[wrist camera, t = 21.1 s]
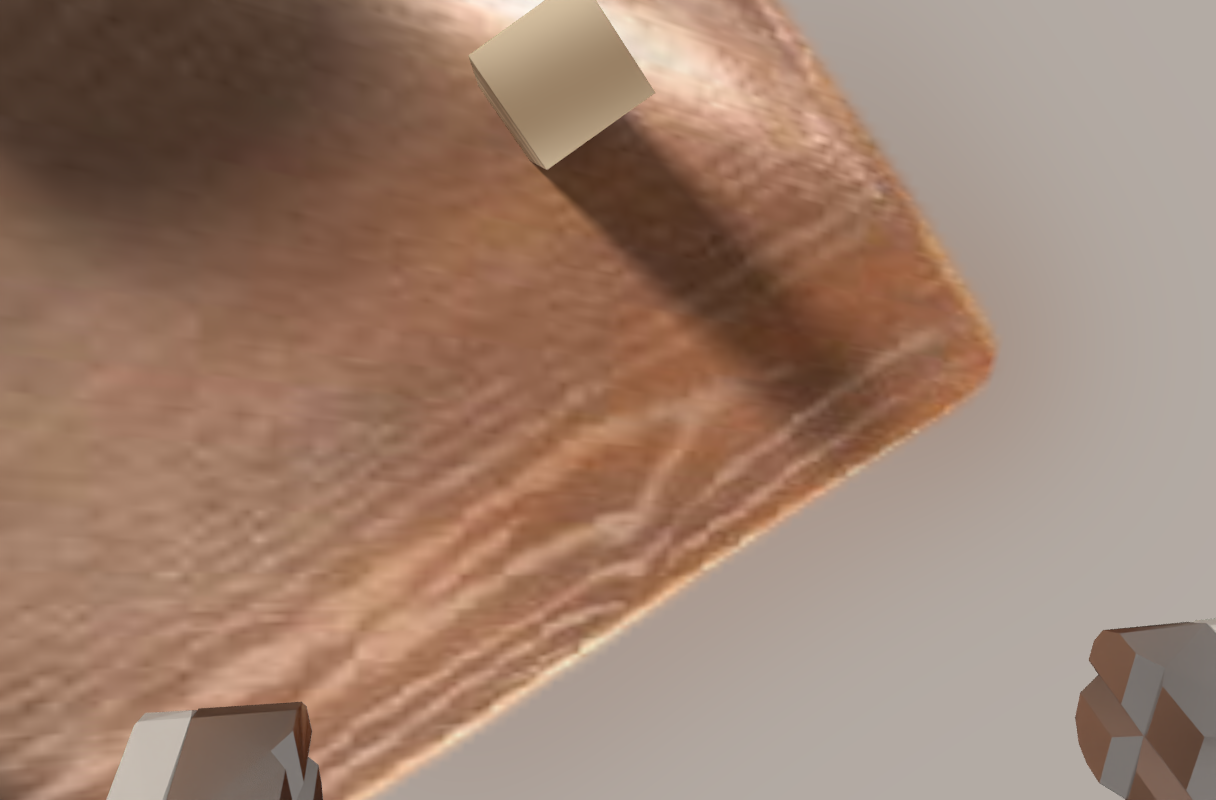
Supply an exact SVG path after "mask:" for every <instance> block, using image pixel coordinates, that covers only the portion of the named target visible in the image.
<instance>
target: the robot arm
mask: <svg viewBox="0 0 1216 800" xmlns="http://www.w3.org/2000/svg"><path fill="white" fill-rule="evenodd" d="M1089 661H1090V662H1091V664H1092V666H1093V667H1094V668H1095V670H1096V672H1097V673H1098V676H1097V677H1096V678H1095V679H1094V680H1093V681H1092V682H1091V683H1090V684H1089V685H1088V686H1087V687H1086V688H1085V689H1084V690H1083V691H1082V692H1081V693H1080V697H1079V702H1078V707H1077V712H1076V717H1075V719H1076V726H1077V733H1078V741H1079V745H1080V747H1081V750H1082V753H1083V755H1084V758H1085V760H1086V763H1087V765H1088V766H1089V768H1090V769H1091V771H1092V772H1093V774H1094V776H1095V777H1096V779H1097V780H1098V782H1099V783H1100V784H1102V785H1103V786H1105V787H1106V788H1108V789H1110V790H1111V791H1113V792H1115V793H1116V794H1118V795H1120V796H1122V797H1123V798H1124V799H1125V800H1216V618H1214V619H1205V620H1196V621H1194V622H1181V623H1171V624H1161V625H1150V626H1140V627H1130V628H1120V629H1110V630H1103V631H1102V632H1101V633H1100V634H1099V636H1098V637H1097V638H1096V639H1095V641H1094V643H1093V646H1092V650H1091V654H1090V657H1089ZM311 735H312V729H311V724H310V720H309V715H308V711H307V706H306V705H305V704H303V703H302V702H292V703H277V704H261V705H246V706H231V707H216V708H201V709H198V710H189V711H172V712H156V713H145V714H144V715H143V716H142V717H141V718H140V719H139V721H138V722H137V723H136V724H135V725H134V727H133V730H132V733H131V735H130V738H129V741H128V743H127V746H126V749H125V751H124V754H123V757H122V759H121V762H120V765H119V767H118V770H117V773H116V775H115V778H114V781H113V783H112V786H111V789H110V792H109V794H108V797H107V800H323V794H322V783H321V777H320V771H319V766H318V764H316V763H315V762H314V761H313V760H311V759H310V758H309V757H308V754H309V747H310V741H311Z"/></svg>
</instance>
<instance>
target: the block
mask: <svg viewBox="0 0 1216 800" xmlns="http://www.w3.org/2000/svg"><path fill="white" fill-rule="evenodd" d="M468 56H469V59H470V62H471V65H472V68H473V71H474V74H475V77H476V80H477V83H478V86H479V88H480V89H481V91H482V92H483V93H484V95H485V96H486V98H487V99H488V101H489V102H490V104H491V105H492V106H493V108H494V109H495V111H496V112H497V114H498V115H499V117H500V118H501V120H502V121H503V122H504V124H505V125H506V127H507V128H508V130H509V131H510V133H511V134H512V135H513V137H514V138H515V140H516V141H517V143H518V144H519V146H520V147H521V149H522V150H523V151H524V153H525V154H526V156H527V157H528V159H529V160H530V161H531V162H533V163H535V164H537V165H539V166H541V167H542V168H544V169H546V170H548V169H549V168H550V167H552V166H553V165H555V164H556V163H557V162H559V161H560V160H562V159H563V158H564V157H566V156H567V155H569V154H570V153H571V152H573V151H574V150H576V149H577V148H579V147H580V146H581V145H583V144H584V143H586V142H587V141H588V140H590V139H591V138H593V137H594V136H595V135H597V134H598V133H600V132H601V131H602V130H604V129H605V128H607V127H608V126H609V125H611V124H612V123H614V122H615V121H616V120H618V119H619V118H621V117H622V116H624V115H625V114H626V113H628V112H629V111H631V110H632V109H633V108H635V107H636V106H638V105H639V104H640V103H642V102H643V101H645V100H646V99H647V98H649V97H650V96H652V95H653V94H654V93H655V91H654V90H653V88H652V87H651V85H650V84H649V82H648V81H647V79H646V77H645V76H644V74H643V73H642V71H641V70H640V68H639V67H638V65H637V63H636V62H635V60H634V59H633V57H632V56H631V54H630V53H629V51H628V49H627V48H626V46H625V45H624V43H623V42H622V40H621V39H620V37H619V35H618V34H617V32H616V31H615V29H614V28H613V26H612V25H611V23H610V21H609V20H608V18H607V17H606V15H605V14H604V12H603V11H602V9H601V8H600V6H599V4H598V3H597V1H596V0H545V1H543V2H542V3H541V4H539V5H538V6H536V7H535V8H534V9H532V10H531V11H530V12H528V13H527V14H525V15H524V16H523V17H521V18H520V19H518V20H517V21H516V22H514V23H513V24H511V25H510V26H509V27H507V28H506V29H505V30H503V31H502V32H500V33H499V34H498V35H496V36H495V37H493V38H492V39H491V40H489V41H488V42H486V43H485V44H484V45H482V46H481V47H480V48H478V49H477V50H475V51H474V52H473V53H471V54H470V55H468Z"/></svg>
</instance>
